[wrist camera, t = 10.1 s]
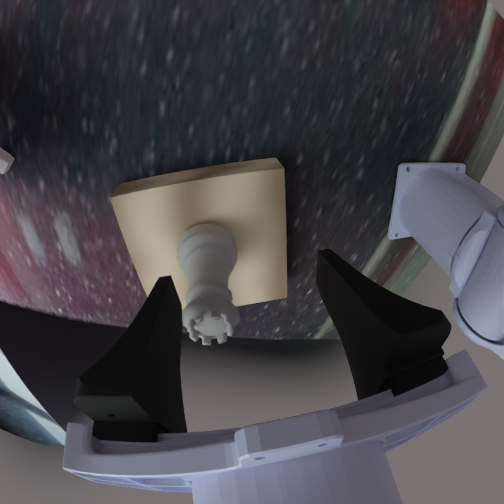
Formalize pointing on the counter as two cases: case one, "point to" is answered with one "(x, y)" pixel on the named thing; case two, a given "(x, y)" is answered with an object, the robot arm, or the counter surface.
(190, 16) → the counter surface
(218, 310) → the rook chess piece
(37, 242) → the counter surface
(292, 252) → the counter surface
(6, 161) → the cat figurine
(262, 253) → the wooden plinth
